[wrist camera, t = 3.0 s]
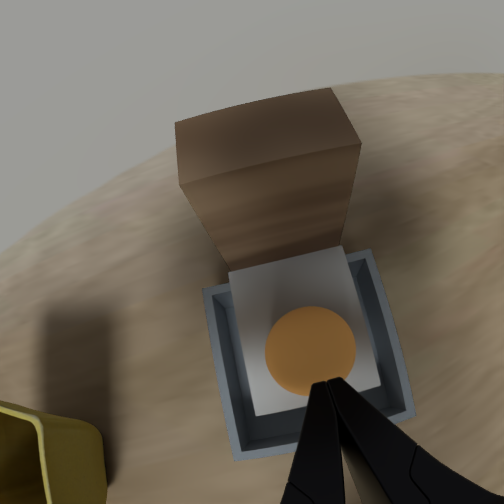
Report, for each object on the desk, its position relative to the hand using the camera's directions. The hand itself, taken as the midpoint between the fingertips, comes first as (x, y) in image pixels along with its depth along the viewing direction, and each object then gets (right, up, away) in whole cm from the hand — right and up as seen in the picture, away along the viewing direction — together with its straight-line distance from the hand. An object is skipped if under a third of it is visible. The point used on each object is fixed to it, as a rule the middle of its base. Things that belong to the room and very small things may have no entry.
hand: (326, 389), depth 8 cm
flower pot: (-15, -12, +11) cm, 22 cm away
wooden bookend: (+1, 0, +12) cm, 12 cm away
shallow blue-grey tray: (+1, -3, +11) cm, 12 cm away
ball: (0, 0, +5) cm, 5 cm away
